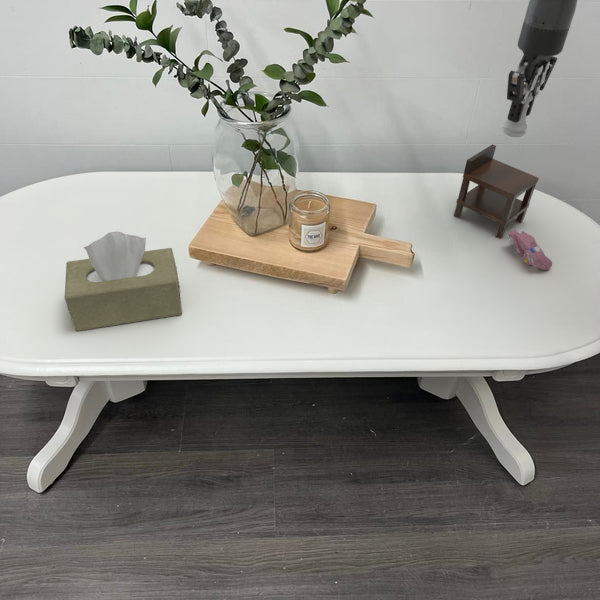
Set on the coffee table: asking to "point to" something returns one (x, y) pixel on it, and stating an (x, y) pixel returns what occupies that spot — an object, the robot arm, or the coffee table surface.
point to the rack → (495, 190)
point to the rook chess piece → (520, 126)
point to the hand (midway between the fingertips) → (518, 117)
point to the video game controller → (529, 249)
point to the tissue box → (121, 283)
